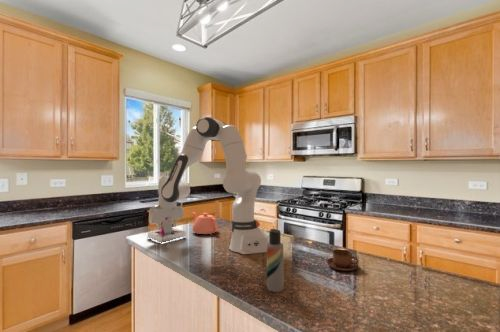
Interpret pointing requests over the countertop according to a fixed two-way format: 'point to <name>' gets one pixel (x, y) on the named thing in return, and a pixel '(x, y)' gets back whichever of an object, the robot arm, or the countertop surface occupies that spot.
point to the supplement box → (166, 226)
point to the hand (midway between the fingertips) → (166, 228)
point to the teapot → (204, 224)
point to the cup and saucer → (342, 260)
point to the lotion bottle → (275, 262)
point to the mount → (163, 238)
